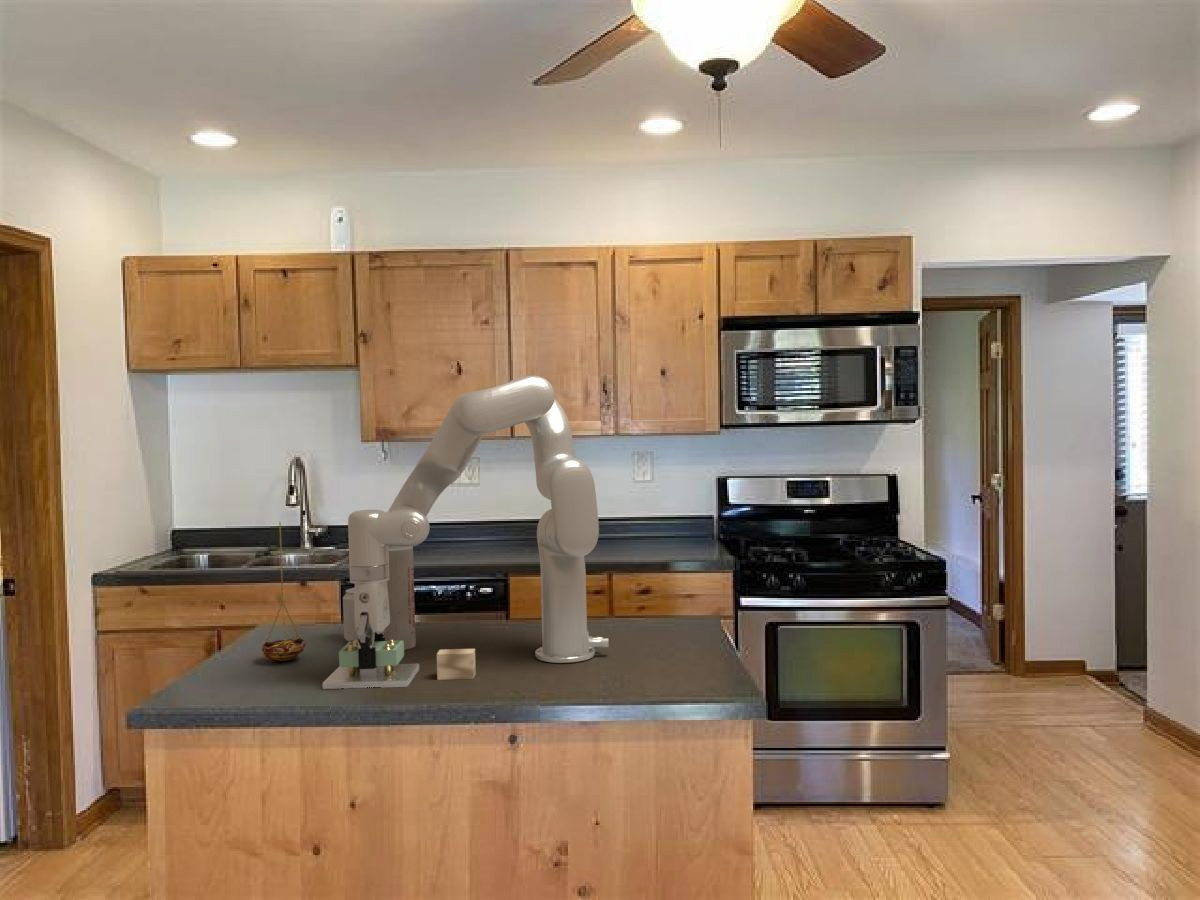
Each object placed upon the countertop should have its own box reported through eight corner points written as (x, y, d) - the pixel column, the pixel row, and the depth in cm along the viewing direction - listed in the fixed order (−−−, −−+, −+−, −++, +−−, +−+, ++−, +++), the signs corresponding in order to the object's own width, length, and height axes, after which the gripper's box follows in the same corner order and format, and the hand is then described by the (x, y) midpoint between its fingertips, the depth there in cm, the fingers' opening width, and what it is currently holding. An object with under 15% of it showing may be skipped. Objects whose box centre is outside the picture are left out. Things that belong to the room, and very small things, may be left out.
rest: (475, 673, 177) (475, 648, 177) (473, 678, 174) (472, 653, 174) (440, 674, 177) (439, 649, 177) (437, 679, 174) (436, 654, 173)
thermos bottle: (421, 642, 204) (417, 520, 203) (406, 651, 196) (403, 524, 195) (388, 641, 205) (385, 520, 205) (373, 650, 198) (369, 524, 197)
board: (404, 655, 179) (403, 640, 179) (396, 665, 172) (396, 649, 172) (349, 657, 179) (348, 642, 178) (339, 667, 172) (338, 651, 172)
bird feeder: (313, 660, 191) (309, 520, 190) (274, 669, 184) (269, 524, 183) (293, 653, 197) (289, 517, 196) (254, 662, 190) (249, 521, 189)
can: (384, 638, 209) (382, 587, 208) (359, 645, 202) (358, 593, 202) (361, 635, 213) (360, 585, 212) (337, 642, 206) (335, 590, 206)
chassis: (419, 669, 181) (418, 633, 181) (407, 686, 169) (406, 648, 169) (340, 671, 181) (339, 635, 181) (322, 689, 169) (321, 650, 169)
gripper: (378, 580, 166) (381, 674, 167) (398, 565, 183) (400, 651, 184) (338, 581, 166) (341, 676, 166) (361, 566, 183) (364, 652, 184)
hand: (372, 662), depth 175 cm, fingers open, 7 cm apart
